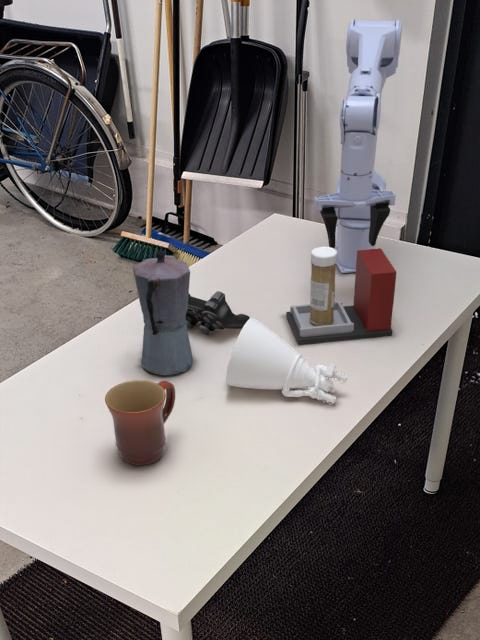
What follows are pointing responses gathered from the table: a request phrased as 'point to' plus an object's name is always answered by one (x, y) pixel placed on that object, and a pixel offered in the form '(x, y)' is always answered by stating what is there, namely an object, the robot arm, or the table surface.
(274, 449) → the table surface
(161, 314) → the moka pot
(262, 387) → the rocket engine
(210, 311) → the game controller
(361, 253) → the coffee maker
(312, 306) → the sprinkles bottle
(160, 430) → the mug
